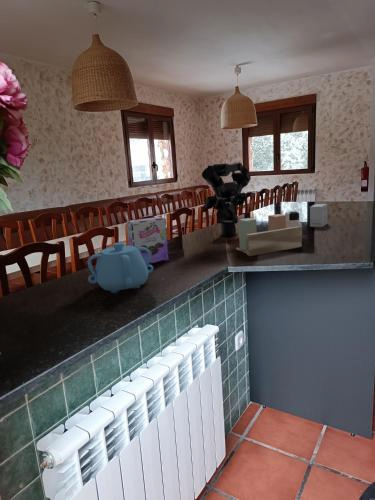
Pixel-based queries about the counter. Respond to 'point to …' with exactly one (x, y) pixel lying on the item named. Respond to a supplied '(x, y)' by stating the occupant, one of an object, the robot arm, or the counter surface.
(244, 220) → the sage block
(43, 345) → the counter surface
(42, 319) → the counter surface
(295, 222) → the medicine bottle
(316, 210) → the skincare box
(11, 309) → the counter surface
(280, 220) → the terracotta block
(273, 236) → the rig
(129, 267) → the decorative pot
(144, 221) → the candy box
